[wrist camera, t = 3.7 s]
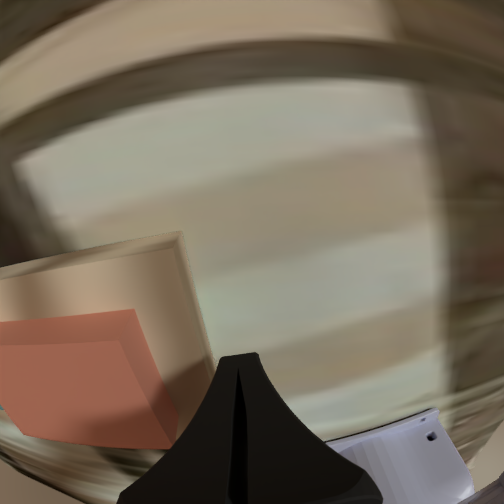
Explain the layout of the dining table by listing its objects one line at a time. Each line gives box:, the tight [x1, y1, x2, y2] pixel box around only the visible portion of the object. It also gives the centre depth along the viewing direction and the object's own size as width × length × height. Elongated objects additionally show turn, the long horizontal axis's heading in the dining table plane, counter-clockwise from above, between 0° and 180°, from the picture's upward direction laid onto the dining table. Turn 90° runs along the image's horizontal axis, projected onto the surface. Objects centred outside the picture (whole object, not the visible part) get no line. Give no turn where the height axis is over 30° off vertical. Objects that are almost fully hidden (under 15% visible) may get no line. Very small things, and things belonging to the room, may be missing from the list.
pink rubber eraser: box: [0, 309, 179, 449], centre depth 11 cm, size 9×6×2 cm, turn 99°
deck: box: [0, 231, 216, 440], centre depth 13 cm, size 13×10×2 cm
